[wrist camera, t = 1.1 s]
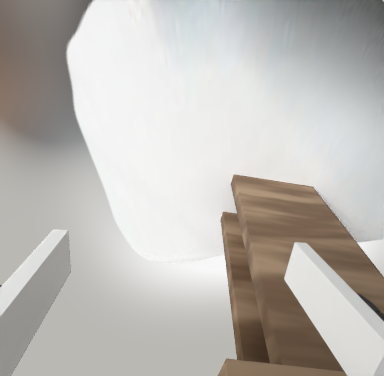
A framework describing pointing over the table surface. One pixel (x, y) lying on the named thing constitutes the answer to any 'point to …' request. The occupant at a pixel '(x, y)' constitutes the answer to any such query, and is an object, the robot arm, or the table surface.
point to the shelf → (275, 272)
